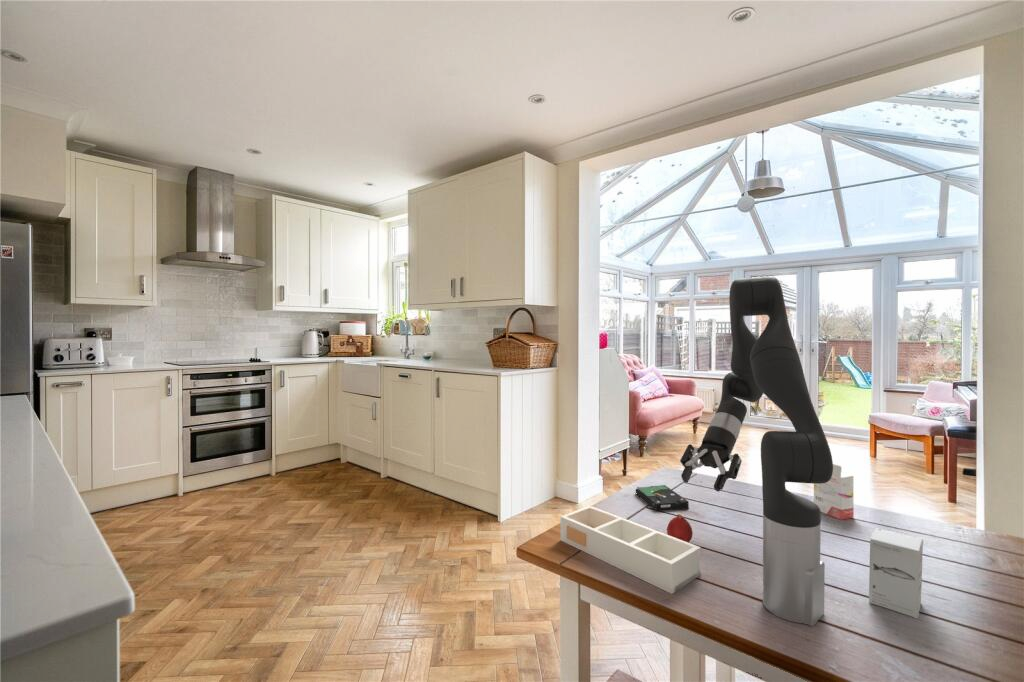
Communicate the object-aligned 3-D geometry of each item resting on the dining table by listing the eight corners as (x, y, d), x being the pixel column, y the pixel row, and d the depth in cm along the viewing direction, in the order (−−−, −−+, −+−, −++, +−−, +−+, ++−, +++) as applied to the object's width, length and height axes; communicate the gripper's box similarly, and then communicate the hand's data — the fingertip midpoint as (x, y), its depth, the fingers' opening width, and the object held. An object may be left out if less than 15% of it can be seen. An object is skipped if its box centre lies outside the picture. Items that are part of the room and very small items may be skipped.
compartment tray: (700, 575, 99) (700, 547, 99) (670, 594, 92) (670, 564, 92) (590, 528, 123) (589, 505, 123) (559, 540, 116) (559, 516, 116)
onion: (670, 539, 116) (670, 507, 116) (694, 544, 113) (694, 511, 113) (664, 548, 111) (664, 515, 111) (690, 554, 108) (690, 520, 108)
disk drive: (689, 510, 136) (664, 492, 151) (689, 501, 136) (664, 484, 150) (656, 513, 134) (634, 495, 149) (656, 503, 134) (634, 486, 149)
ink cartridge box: (854, 518, 128) (855, 465, 128) (841, 520, 127) (841, 466, 126) (825, 506, 136) (825, 457, 136) (812, 509, 135) (812, 458, 134)
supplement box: (867, 603, 89) (868, 537, 88) (874, 588, 94) (874, 526, 93) (919, 620, 83) (919, 550, 83) (922, 603, 88) (923, 537, 88)
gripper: (692, 421, 129) (668, 470, 122) (744, 429, 118) (722, 484, 111) (702, 437, 132) (680, 486, 125) (753, 446, 121) (732, 501, 114)
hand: (699, 485), depth 118 cm, fingers open, 8 cm apart
